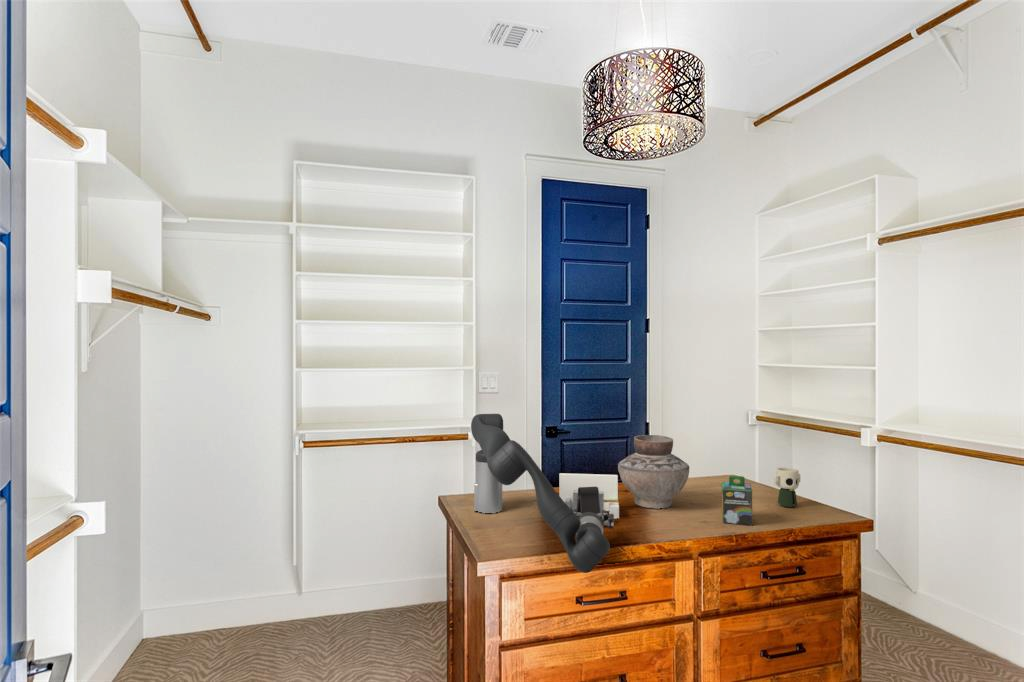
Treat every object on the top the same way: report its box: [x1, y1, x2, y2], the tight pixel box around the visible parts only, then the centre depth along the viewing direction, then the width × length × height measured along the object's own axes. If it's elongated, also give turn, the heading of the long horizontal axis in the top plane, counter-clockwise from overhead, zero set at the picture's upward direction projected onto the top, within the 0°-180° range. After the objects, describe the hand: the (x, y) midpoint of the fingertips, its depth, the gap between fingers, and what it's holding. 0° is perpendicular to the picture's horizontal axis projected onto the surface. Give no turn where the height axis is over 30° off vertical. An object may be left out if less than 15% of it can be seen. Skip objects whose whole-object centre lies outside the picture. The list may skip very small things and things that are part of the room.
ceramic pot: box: [617, 434, 690, 510], centre depth 212 cm, size 25×25×24 cm
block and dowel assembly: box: [572, 490, 620, 514], centre depth 197 cm, size 15×3×8 cm, turn 83°
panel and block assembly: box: [558, 472, 620, 519], centre depth 201 cm, size 20×11×12 cm, turn 83°
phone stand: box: [576, 487, 600, 514], centre depth 188 cm, size 9×6×12 cm, turn 10°
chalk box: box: [721, 475, 754, 526], centre depth 193 cm, size 9×9×15 cm
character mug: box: [773, 466, 801, 508], centre depth 210 cm, size 11×7×13 cm, turn 107°
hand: (589, 512), depth 180 cm, fingers open, 8 cm apart
